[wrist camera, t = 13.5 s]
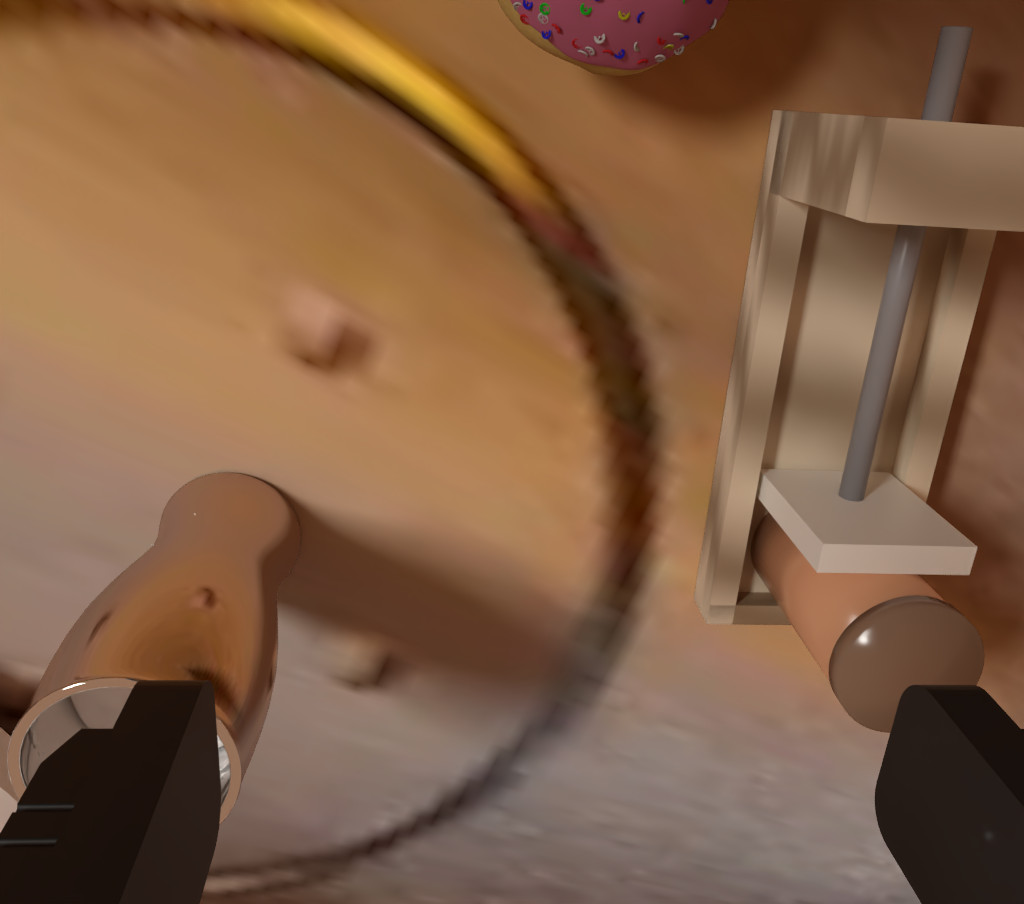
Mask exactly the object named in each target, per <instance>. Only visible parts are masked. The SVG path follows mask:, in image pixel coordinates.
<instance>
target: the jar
mask: <svg viewBox="0 0 1024 904" xmlns="http://www.w3.org/2000/svg"><path fill="white" fill-rule="evenodd" d="M751 559H752V563H753V566H754V568H755V570H756V572H757V574H758V575H759V577H760V578H761V580H762V581H763V583H764V584H765V586H766V587H767V589H768V590H769V592H770V593H771V595H772V596H773V598H774V599H775V601H776V602H777V604H778V605H779V607H780V608H781V610H782V611H783V613H784V614H785V616H786V617H787V619H788V620H789V622H790V623H791V625H792V626H793V628H794V629H795V631H796V632H797V634H798V635H799V637H800V638H801V640H802V641H803V643H804V644H805V646H806V647H807V649H808V650H809V652H810V653H811V655H812V656H813V658H814V659H815V661H816V662H817V664H818V665H819V667H820V668H821V670H822V671H823V673H824V674H825V676H826V677H827V679H828V680H829V682H830V684H831V687H832V690H833V692H834V694H835V696H836V697H837V699H838V700H839V702H840V703H841V705H842V706H843V708H844V709H845V710H846V712H847V713H848V714H849V716H851V717H852V718H853V719H854V720H855V721H856V722H858V723H859V724H861V725H863V726H865V727H867V728H869V729H872V730H876V731H880V732H887V733H891V729H892V726H893V722H894V718H895V715H896V711H897V707H898V704H899V701H900V698H901V695H902V694H903V692H904V691H905V690H906V688H908V687H909V686H911V685H975V686H976V685H977V683H978V681H979V678H980V676H981V673H982V669H983V665H984V647H983V642H982V639H981V637H980V635H979V633H978V631H977V630H976V628H975V627H974V626H973V625H972V624H971V623H970V622H969V621H968V620H967V619H966V618H965V617H964V616H963V615H962V614H961V613H960V612H959V611H958V610H957V609H956V608H955V607H953V606H952V605H951V604H949V603H947V602H945V601H944V600H943V599H942V598H941V597H940V596H939V595H938V594H937V593H936V592H935V591H934V590H933V589H932V588H931V587H930V586H929V585H928V584H927V583H926V582H925V581H924V580H923V579H922V578H921V577H920V576H919V575H918V574H870V573H817V572H816V571H815V569H814V568H813V567H812V566H811V564H810V563H809V562H808V561H807V559H806V558H805V557H804V556H803V554H802V553H801V552H800V551H799V549H798V548H797V547H796V546H795V544H794V543H793V542H792V540H791V539H790V538H789V537H788V535H787V534H786V533H785V532H784V530H783V529H782V528H781V527H780V525H779V524H778V523H777V522H776V520H775V519H774V518H773V516H772V515H771V514H770V513H769V512H768V513H767V514H766V515H765V516H764V518H763V519H762V520H761V522H760V523H759V525H758V527H757V528H756V530H755V533H754V535H753V539H752V543H751Z"/></svg>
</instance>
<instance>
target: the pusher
mask: <svg viewBox="0 0 1024 904" xmlns="http://www.w3.org/2000/svg"><path fill="white" fill-rule="evenodd" d="M972 31H973V28H971V27H962V26H943V27H941V30H940V35H939V40H938V44H937V49H936V53H935V58H934V62H933V67H932V71H931V76H930V80H929V85H928V89H927V94H926V99H925V103H924V108H923V112H922V117H921V120H929V121H944V122H951V121H952V117H953V113H954V108H955V104H956V100H957V96H958V91H959V87H960V83H961V78H962V74H963V70H964V65H965V61H966V57H967V53H968V48H969V44H970V40H971V35H972ZM926 229H927V226H915V225H898V226H897V230H896V235H895V239H894V244H893V248H892V253H891V257H890V262H889V266H888V271H887V275H886V280H885V284H884V289H883V294H882V298H881V303H880V307H879V312H878V316H877V321H876V325H875V330H874V334H873V339H872V343H871V348H870V353H869V357H868V362H867V366H866V371H865V375H864V380H863V384H862V389H861V393H860V398H859V402H858V407H857V412H856V416H855V421H854V425H853V430H852V434H851V439H850V443H849V448H848V452H847V457H846V461H845V466H844V470H843V471H821V470H786V469H761V470H760V475H759V481H758V486H757V492H756V496H757V498H758V499H759V500H760V501H761V503H762V504H763V505H764V506H765V508H766V509H767V510H768V511H769V513H770V514H771V515H772V516H773V518H774V519H775V520H776V522H777V523H778V524H779V525H780V527H781V528H782V529H783V530H784V532H785V533H786V534H787V535H788V537H789V538H790V539H791V540H792V542H793V543H794V544H795V546H796V547H797V548H798V549H799V551H800V552H801V553H802V554H803V556H804V557H805V558H806V559H807V561H808V562H809V563H810V564H811V566H812V567H813V568H814V569H815V571H816V572H817V573H870V574H930V575H970V572H971V568H972V565H973V561H974V558H975V554H976V551H977V548H978V547H977V546H976V545H975V544H974V543H972V542H971V541H970V540H969V539H968V538H966V537H965V536H964V535H963V534H962V533H960V532H959V531H958V530H957V529H956V528H955V527H953V526H952V525H951V524H950V523H949V522H947V521H946V520H945V519H944V518H943V517H942V516H940V515H939V514H938V513H937V512H936V511H934V510H933V509H932V508H931V507H930V506H928V505H927V504H926V503H925V502H924V501H923V500H921V499H920V498H919V497H918V496H917V495H915V494H914V493H913V492H912V491H911V490H909V489H908V488H907V487H906V486H905V485H904V484H902V483H901V482H900V481H899V480H898V479H896V478H895V477H894V476H893V475H892V474H891V473H889V472H870V470H871V465H872V461H873V457H874V452H875V448H876V444H877V440H878V435H879V431H880V427H881V422H882V418H883V414H884V409H885V405H886V401H887V397H888V392H889V388H890V384H891V379H892V375H893V371H894V366H895V362H896V358H897V354H898V349H899V345H900V341H901V336H902V332H903V328H904V323H905V319H906V315H907V311H908V306H909V302H910V298H911V293H912V289H913V285H914V280H915V276H916V272H917V268H918V263H919V259H920V255H921V250H922V246H923V242H924V237H925V233H926Z"/></svg>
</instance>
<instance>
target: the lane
mask: <svg viewBox="0 0 1024 904" xmlns="http://www.w3.org/2000/svg"><path fill="white" fill-rule="evenodd" d="M898 225H915V226H927V229H926V233H925V237H924V242H923V246H922V250H921V255H920V259H919V263H918V268H917V272H916V276H915V280H914V285H913V289H912V293H911V298H910V302H909V306H908V311H907V315H906V319H905V323H904V328H903V332H902V336H901V341H900V345H899V349H898V354H897V358H896V362H895V366H894V371H893V375H892V379H891V384H890V388H889V392H888V397H887V401H886V405H885V409H884V414H883V418H882V422H881V427H880V431H879V435H878V440H877V444H876V448H875V452H874V457H873V461H872V465H871V470H870V472H889V473H891V474H892V475H893V476H894V477H895V478H896V479H898V480H899V481H900V482H901V483H902V484H904V485H905V486H906V487H907V488H908V489H909V490H911V491H912V492H913V493H914V494H915V495H917V496H918V497H919V498H920V499H921V500H923V501H924V502H925V503H926V501H927V497H928V493H929V490H930V486H931V482H932V478H933V474H934V470H935V467H936V463H937V459H938V455H939V451H940V448H941V444H942V440H943V436H944V432H945V428H946V425H947V421H948V417H949V413H950V409H951V405H952V402H953V398H954V394H955V390H956V386H957V383H958V379H959V375H960V371H961V367H962V363H963V360H964V356H965V352H966V348H967V344H968V340H969V337H970V333H971V329H972V325H973V321H974V318H975V314H976V310H977V306H978V302H979V298H980V295H981V291H982V287H983V283H984V279H985V275H986V272H987V268H988V264H989V260H990V256H991V253H992V249H993V245H994V241H995V237H996V233H997V230H1001V231H1019V232H1024V127H1015V126H1000V125H986V124H972V123H958V122H944V121H929V120H915V119H901V118H887V117H872V116H857V115H842V114H827V113H812V112H797V111H782V110H773V114H772V120H771V127H770V133H769V139H768V145H767V151H766V157H765V163H764V170H763V176H762V182H761V188H760V194H759V200H758V207H757V213H756V219H755V225H754V231H753V237H752V244H751V250H750V256H749V262H748V268H747V274H746V281H745V287H744V293H743V299H742V305H741V311H740V318H739V324H738V330H737V336H736V342H735V348H734V355H733V361H732V367H731V373H730V379H729V385H728V392H727V398H726V404H725V410H724V416H723V422H722V429H721V435H720V441H719V447H718V453H717V459H716V466H715V472H714V478H713V484H712V490H711V496H710V502H709V509H708V515H707V521H706V527H705V533H704V539H703V546H702V552H701V558H700V564H699V570H698V576H697V583H696V589H695V595H694V600H695V602H696V604H697V606H698V608H699V610H700V612H701V614H702V616H703V618H704V619H705V621H706V623H707V624H751V625H791V623H790V622H789V620H788V619H787V617H786V616H785V614H784V613H783V611H782V610H781V608H780V607H779V605H778V604H777V602H776V601H775V599H774V598H773V596H772V595H771V593H770V592H769V590H768V589H767V587H766V586H765V584H764V583H763V581H762V580H761V578H760V577H759V575H758V574H757V572H756V570H755V568H754V566H753V563H752V559H751V543H752V539H753V535H754V533H755V530H756V528H757V527H758V525H759V523H760V522H761V520H762V519H763V518H764V516H765V515H766V514H767V513H768V512H769V511H768V510H767V509H766V508H765V506H764V505H763V504H762V503H761V501H760V500H759V499H758V498H757V496H756V492H757V486H758V481H759V475H760V470H761V469H786V470H821V471H843V470H844V466H845V461H846V457H847V452H848V448H849V443H850V439H851V434H852V430H853V425H854V421H855V416H856V412H857V407H858V402H859V398H860V393H861V389H862V384H863V380H864V375H865V371H866V366H867V362H868V357H869V353H870V348H871V343H872V339H873V334H874V330H875V325H876V321H877V316H878V312H879V307H880V303H881V298H882V294H883V289H884V284H885V280H886V275H887V271H888V266H889V262H890V257H891V253H892V248H893V244H894V239H895V235H896V230H897V226H898Z"/></svg>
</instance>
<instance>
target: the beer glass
mask: <svg viewBox="0 0 1024 904" xmlns="http://www.w3.org/2000/svg"><path fill="white" fill-rule="evenodd" d="M300 546H301V532H300V526H299V522H298V519H297V517H296V514H295V512H294V510H293V509H292V507H291V505H290V504H289V503H288V501H287V500H286V499H285V498H284V497H283V496H282V495H281V494H280V493H279V492H278V491H277V490H276V489H274V488H273V487H272V486H270V485H269V484H267V483H265V482H263V481H261V480H259V479H257V478H254V477H251V476H248V475H244V474H239V473H229V472H223V473H213V474H208V475H204V476H201V477H198V478H196V479H194V480H192V481H190V482H188V483H187V484H185V485H184V486H182V487H181V488H180V489H179V490H178V491H176V492H175V493H174V494H173V496H172V497H171V498H170V499H169V501H168V502H167V504H166V506H165V508H164V510H163V513H162V516H161V520H160V525H159V532H158V537H157V539H156V541H155V543H154V544H152V547H151V548H150V549H149V550H148V551H146V552H145V553H144V554H143V555H142V556H141V557H140V558H138V559H137V560H136V561H135V562H134V563H132V564H131V565H130V566H129V567H128V568H127V569H126V570H124V571H123V572H122V573H121V574H120V575H119V576H118V577H116V578H115V579H114V580H113V581H112V582H111V583H110V584H109V585H108V586H107V587H106V588H105V589H104V590H103V591H102V592H101V593H100V594H99V595H98V596H97V597H96V598H95V599H94V600H93V601H92V602H91V603H90V604H89V606H88V607H87V608H86V609H85V610H84V612H83V613H82V615H81V616H80V617H79V619H78V620H77V621H76V623H75V624H74V625H73V627H72V628H71V629H70V631H69V632H68V634H67V635H66V637H65V638H64V640H63V642H62V643H61V645H60V647H59V648H58V650H57V652H56V653H55V655H54V657H53V658H52V660H51V662H50V663H49V665H48V667H47V669H46V671H45V673H44V675H43V677H42V679H41V681H40V683H39V684H38V686H37V688H36V690H35V692H34V695H33V697H32V699H31V701H30V703H29V705H28V707H27V709H26V711H25V713H24V715H23V716H22V717H21V719H20V720H19V722H18V723H17V725H16V727H15V729H14V731H13V733H12V736H11V739H10V742H9V747H8V754H7V766H8V773H9V777H10V781H11V784H12V786H13V789H14V791H15V793H16V795H17V797H18V798H19V800H20V798H21V796H22V795H23V793H24V791H25V790H26V788H27V786H28V784H29V783H30V781H31V779H32V777H33V776H34V774H35V772H36V771H37V769H38V767H39V765H40V764H41V762H43V761H44V760H45V759H46V758H47V757H49V756H50V755H51V754H52V753H53V752H54V751H56V750H57V749H58V748H59V747H60V746H61V745H63V744H64V743H65V742H66V741H67V740H69V739H70V738H71V737H72V736H73V735H74V734H76V733H77V732H78V731H79V730H80V729H113V727H114V725H115V723H116V721H117V719H118V717H119V715H120V713H121V711H122V709H123V707H124V705H125V703H126V701H127V699H128V697H129V695H130V693H131V691H132V689H133V687H134V685H135V684H136V683H137V682H138V681H140V680H209V681H210V682H211V683H212V686H213V690H214V697H215V710H216V724H217V738H218V752H219V766H220V780H221V812H220V823H219V825H220V824H221V823H222V822H223V821H224V819H225V818H226V817H227V816H228V814H229V813H230V811H231V810H232V808H233V806H234V804H235V802H236V800H237V798H238V795H239V792H240V788H241V783H242V781H243V778H244V775H245V773H246V771H247V768H248V766H249V763H250V761H251V758H252V756H253V753H254V751H255V748H256V745H257V743H258V740H259V737H260V735H261V732H262V729H263V725H264V722H265V719H266V716H267V712H268V709H269V706H270V701H271V697H272V692H273V687H274V682H275V678H276V671H277V657H278V610H277V593H278V589H279V587H280V585H281V584H282V582H283V581H284V580H285V578H286V577H287V576H288V574H289V573H290V571H291V570H292V568H293V566H294V565H295V562H296V560H297V557H298V555H299V551H300Z"/></svg>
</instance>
